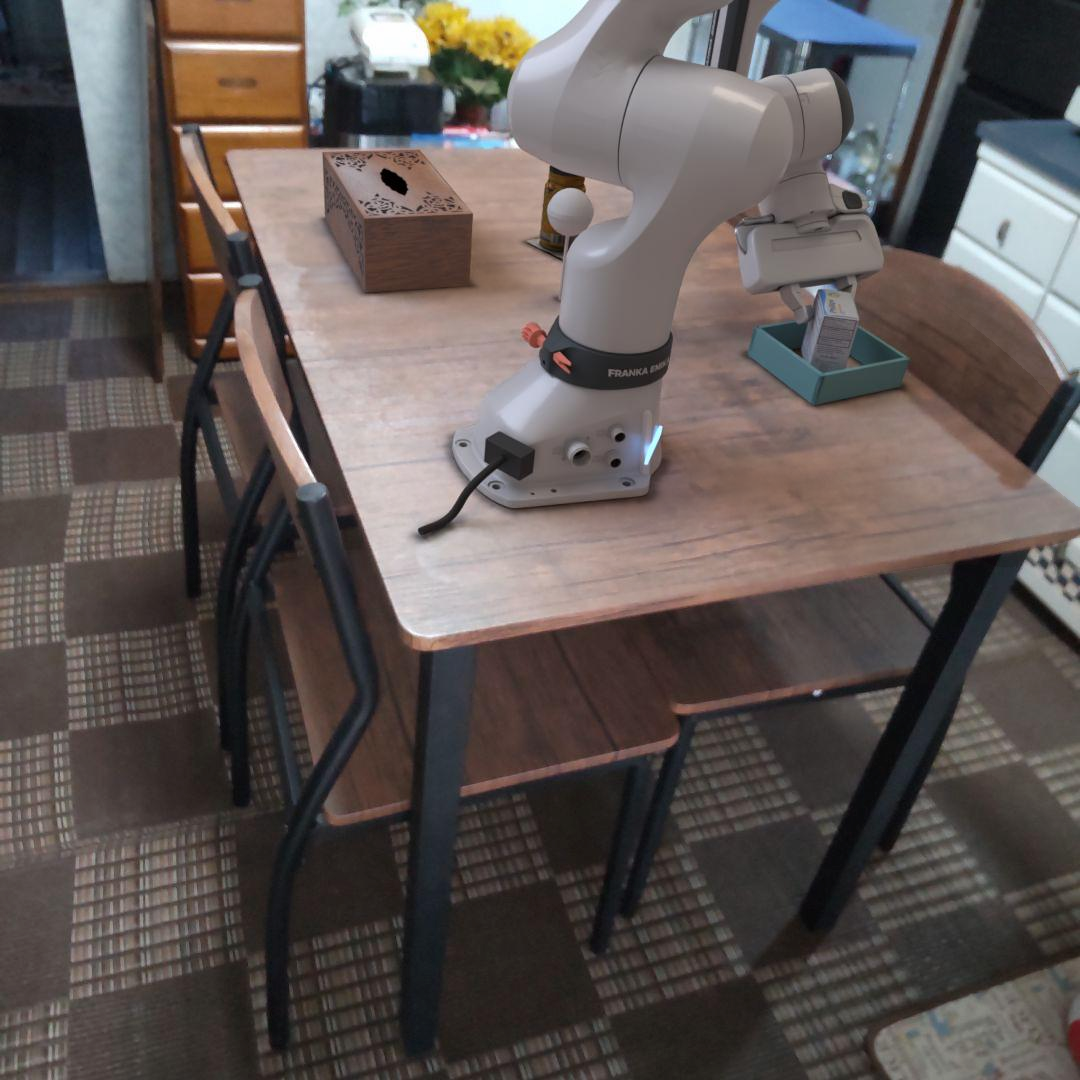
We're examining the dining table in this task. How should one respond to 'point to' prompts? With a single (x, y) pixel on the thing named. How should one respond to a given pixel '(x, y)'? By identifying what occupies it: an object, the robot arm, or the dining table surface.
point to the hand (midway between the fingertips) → (827, 318)
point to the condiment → (548, 235)
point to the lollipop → (569, 217)
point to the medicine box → (830, 330)
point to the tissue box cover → (397, 220)
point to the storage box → (816, 387)
